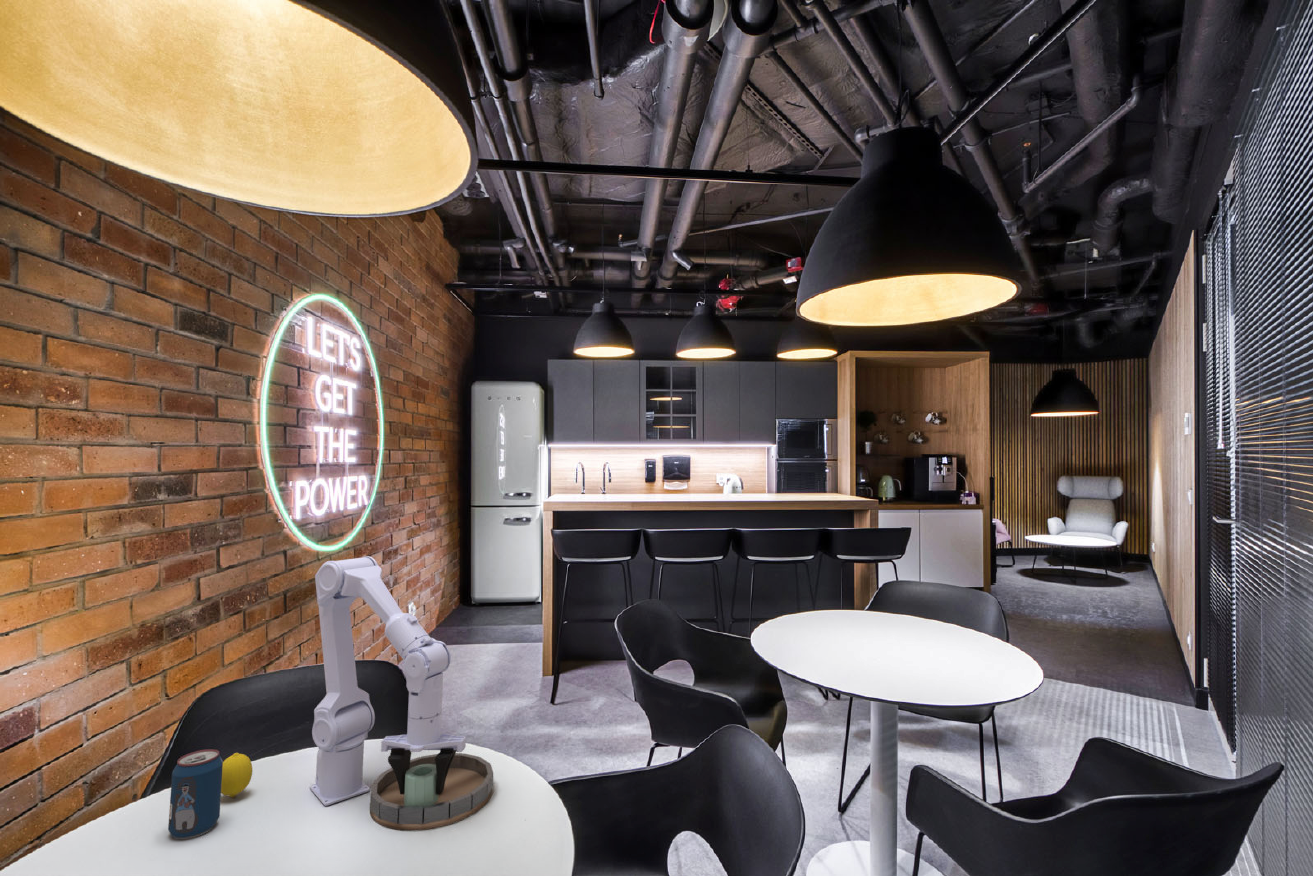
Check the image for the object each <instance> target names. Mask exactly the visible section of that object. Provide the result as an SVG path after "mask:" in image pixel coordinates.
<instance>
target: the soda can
mask: <svg viewBox="0 0 1313 876" xmlns="http://www.w3.org/2000/svg"><path fill="white" fill-rule="evenodd" d="M176 762H177V764H176V765H175V767H174V768H173V770H172V773H171V784H170V797H169V800H170V801H169V809H168V810H169V813H168V824H167V825H168V827H167V829H168V832H169V834H170V835H171V836H172V837H173V839H176V840H189V839H194V838H196V837H199V836H202V835H204V834H206V833H207V831H208V832H209V831H211V830H212V829H213V828H214V826H215V825H216V823H217V821H218V820H219V819H220V813H221V802H222V801H221V796H222V793H221V784H222V768H223V762H224V761H223V759H222V757H221V756H220V751H219V750H218V749H212V748H211V749H210V748H209V749H201V750H196V751H193V752H190V753H187V754H185V755H182V756H180V758H178V760H177V761H176ZM210 829H211V830H210ZM203 833H204V834H203ZM201 834H202V835H201ZM188 838H189V839H188Z"/></svg>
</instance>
